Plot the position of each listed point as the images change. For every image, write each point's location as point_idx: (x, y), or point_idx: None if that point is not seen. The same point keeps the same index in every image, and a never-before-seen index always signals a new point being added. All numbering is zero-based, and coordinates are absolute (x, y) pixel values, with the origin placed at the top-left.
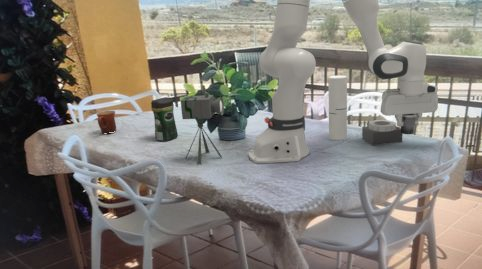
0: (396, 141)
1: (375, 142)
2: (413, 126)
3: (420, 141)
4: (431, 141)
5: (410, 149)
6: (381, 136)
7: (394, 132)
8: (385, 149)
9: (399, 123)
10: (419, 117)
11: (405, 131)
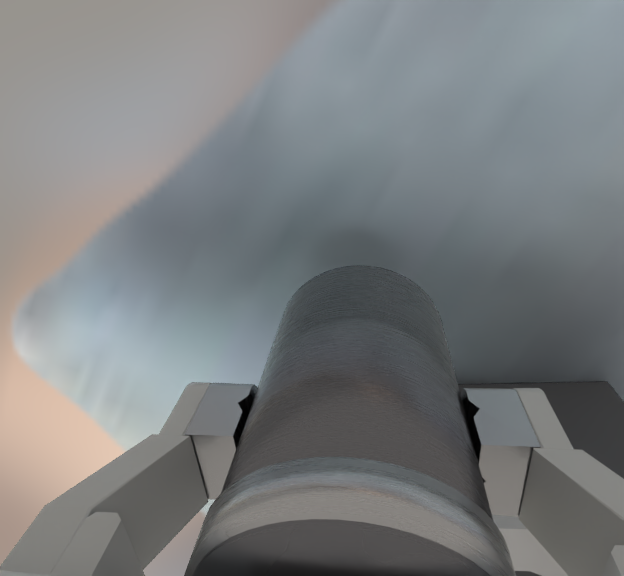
0: None
1: (593, 399)
2: (298, 336)
3: (179, 356)
4: (95, 331)
5: (355, 192)
6: None
7: None
8: (577, 259)
9: (557, 433)
10: (117, 482)
11: (425, 308)
